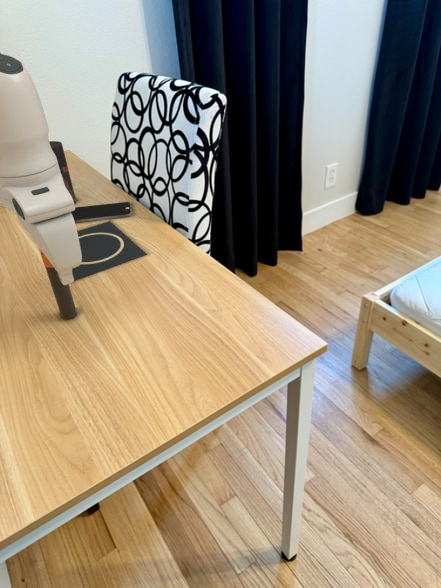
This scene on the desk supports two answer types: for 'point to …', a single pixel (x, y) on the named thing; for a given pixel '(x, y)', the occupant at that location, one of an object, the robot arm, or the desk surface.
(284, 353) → the desk surface
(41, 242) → the robot arm
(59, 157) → the deodorant
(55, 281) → the marker
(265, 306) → the desk surface
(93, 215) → the smartphone
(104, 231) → the desk pad
